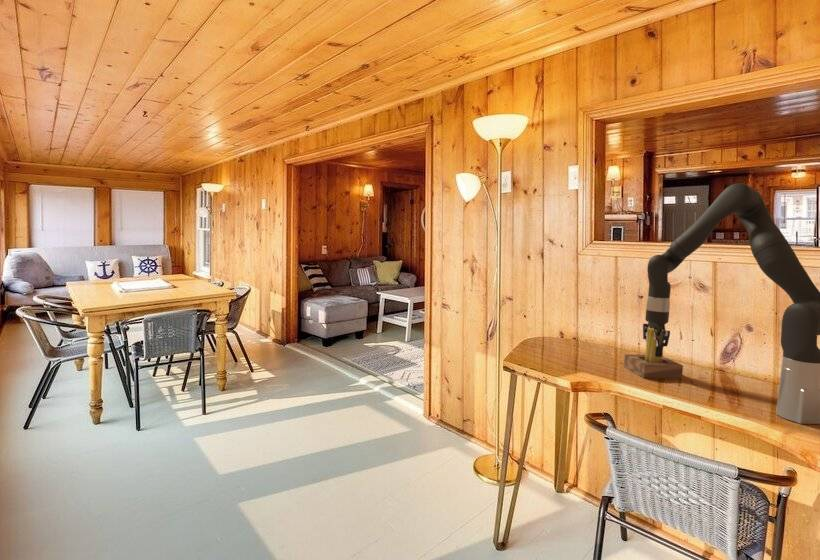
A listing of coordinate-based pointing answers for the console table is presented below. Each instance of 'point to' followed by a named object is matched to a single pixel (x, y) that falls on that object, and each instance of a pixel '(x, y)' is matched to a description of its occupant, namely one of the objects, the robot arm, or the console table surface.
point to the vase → (651, 348)
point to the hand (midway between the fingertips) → (653, 354)
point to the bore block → (653, 367)
